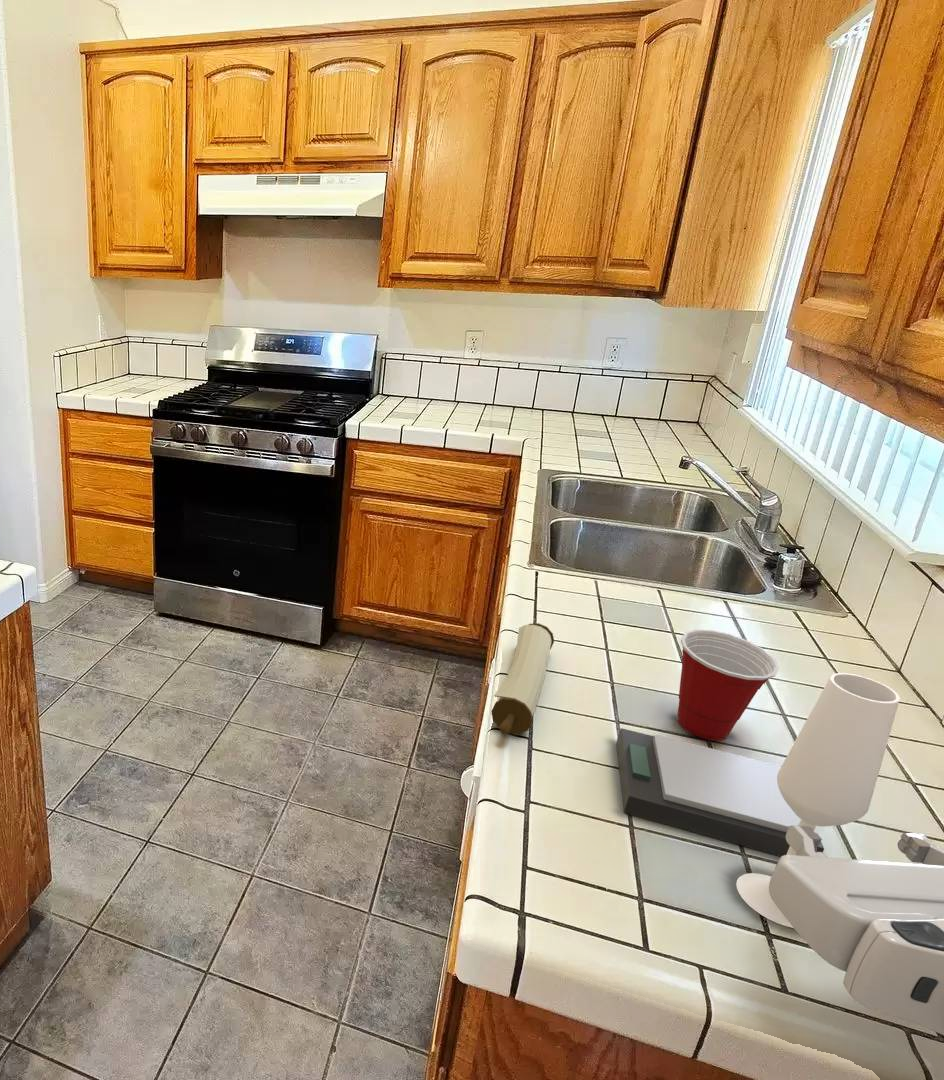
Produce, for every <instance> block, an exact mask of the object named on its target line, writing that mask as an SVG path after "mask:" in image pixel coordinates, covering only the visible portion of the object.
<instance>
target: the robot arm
mask: <svg viewBox="0 0 944 1080" xmlns="http://www.w3.org/2000/svg"><path fill="white" fill-rule="evenodd" d="M817 833H818V832H817ZM817 833H815V832H813V829H812V828H811V827H808V826H797V825H791V826H789V828H788V831H787V833H786V841H787V843H788V844H789V845H790V846H791V847H792V848H793V850H794V851H795V852H796V853H797V854H796V855H783V856H782V857H781V856H780V858H778V861H777V863H776V864H775V867H774V869H773V871H772V873H771V875H770V876H771V879H770V883H769V894H770V896H771V898H772V900H773V901H774V903H775V904H776V906H777V907H778V908H779V910H780V911H781V912H782V914H783V915H784V916H785V918H786V919H787V920H788V921H789V923H790V924H791V925H792V926H793V927H794V928H793V929H794V930H795V931H796V932H797V934H798V935H799V936H800V938H802V939H803V941H804V942H805V943H806V944H807V945H808V946H809V947H810V948H811V949H812V951H814V952H815V953H816V954H817V955H818V956H819V957H820V958H821V959H822V960H823V961H825V962H826V963H828V964H829V965H831V966H833V967H834V968H836V969H838V970H840V971H842V972H845V975H844V978H843V981H842V985H843V986H844V988H845V990H846V991H847V993H848V994H849V995H850V997H851V998H852V999H853V1000H854V1001H855V1002H856V1003H858V1004H859V1005H860V1006H863V1007H864V1008H866V1009H869V1010H872V1011H876V1012H879V1013H881V1014H885V1015H889V1016H891V1017H894V1018H898V1019H901V1020H904V1021H906V1022H910V1023H913V1024H915V1025H918V1026H920V1027H923V1028H925V1029H928V1030H930V1031H933V1032H935V1033H937V1034H940V1035H941V1036H944V848H942V847H939V846H937V845H936V844H935V842H933V841H932V840H931V839H929V837H927V835H925V834H923V833H908V832H903V833H902V834H901V835H900V839H898V841H897V848H898V850H899V851H900V852H901V853H902V854H904V855H905V857H906V858H907V859H908V861H910V862H911V863H908V862H894V861H881V860H865V859H853V858H837V857H828V856H827V855H826V854H825V853H824V852H823V853H822V852H817V846H819V845H820V842H822V840H823V839H822V837H821V836H820V835H819V833H818V834H817ZM816 852H817V853H816Z"/></svg>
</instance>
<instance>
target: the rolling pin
mask: <svg viewBox="0 0 944 1080" xmlns="http://www.w3.org/2000/svg"><path fill="white" fill-rule="evenodd" d="M554 637H555V636H554V633H553V631H552V630H551V629H550V628H549V627H548V626H546V625H544V624H542V623H539V622H538V623H529V624H525V625H522V626H520V627H518V633H517V640H516V646H515V652H514V655H513V661H512V663H511V666H510V668H509V670H508V673H507V676H506V678H505V679H504V681H503V683H502V684H501V685H500V687H499V688H498V689H497V691H496V692H495V693H494V695H493V697H494V698H498V700H497V701H495V703H494V705H493V706H492V709H491V718H492V721H493V722H494V724H495V725H496V727H497V728H498V729H499V732H500V733H501V734H503V735H506V734H509V735H521V734H523V733H525V732H528V731H529V730H530V727H532V723H533V722H534V719H533V716H534V713H535V711H536V709H537V704H538V702H539V699H540V696H541V692H542V688H543V685H544V681H545V676H546V672H547V667H548V663H549V659H550V653H551V649H552V648H553V645H554V643H555V638H554Z"/></svg>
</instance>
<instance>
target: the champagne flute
mask: <svg viewBox="0 0 944 1080" xmlns="http://www.w3.org/2000/svg"><path fill="white" fill-rule="evenodd" d="M900 700H901V697H900V695H899V694H898V692H896V691H895V690H894V689H893V688H891V687H889V686H888V685H886V684H884V683H882V682H879V681H877V680H875V679H872V678H869V677H867V676H863V675H859V674H854V673H848V672H836V673H833V674H831V675H830V676H829V678H828V680H827V682H826V683H825V685H824V688H823V689H822V691H821V693H820V694H819V696H818V698H817V700H816V702H815V703H814V706H813V708H812V709H811V711H810V713H809V715H808V717H807V718H806V720H805V722H804V724H803V726H802V728H801V729H800V730H799V733H798V735H797V737H796V739H795V741H794V742H793V744H792V746H791V748H790V750H789V751H788V753H787V755H786V757H785V759H784V760H783V762H782V764H781V765H782V766H781V768H780V770H779V772H778V774H777V783H778V787H779V790H780V792H781V794H782V796H783V798H784V800H785V801H786V803H787V804H788V805H789V807H790V808H791V809H792V810H793V812H794V813H795V814H796V815H797V816H798V817H799V818H800V819H801V820H800V823H799V825H798V826H808V827H811V828H812V829H813V832H814V830H815V828H816V827H820V828H821V827H823V828H824V827H835V826H836V827H837V826H845V825H847V824H852V823H854V822H856V821H859V820H860V819H862V818H863V817H865V816H866V815H867V813H868V812H869V810H870V806H871V801H872V798H873V795H874V792H875V788H876V784H877V781H878V777H879V774H880V770H881V767H882V763H883V760H884V757H885V754H886V749H887V745H888V742H889V739H890V735H891V732H892V728H893V725H894V721H895V717H896V714H897V711H898V707H899V703H900ZM816 829H817V828H816ZM796 854H797V853H796V852H795V851H794V850H793V848H792V847H791V846H790V847H789V850H788V852H787V855H796ZM771 876H772V875H767V874H764V873H763V874H762V873H756V872H750V873H744V874H742V875H740V876H739V877H738V878H737V880H736V883H735V886H736V890H737V892H738V894H739V896H740V897H741V899H742V900H743V901H744V902H745V903H746V904H747V906H749V907H750V908H751V909H752V910H754V911H755V912H756V913H758V914H759V915H761V916H762V917H764V918H766V919H768V920H769V921H772V922H774V923H775V924H777V925H781V926H784V927H786V928H787V927H788V928H791V929H794V927H793V926H792V925H791V924H790V923H789V921H788V920H787V919H786V918H785V916H784V915H783V914H782V912H781V911H780V910H779V908H778V907H777V906H776V904H775V903H774V901H773V900H772V898H771V896H770V894H769V883H770V879H771Z"/></svg>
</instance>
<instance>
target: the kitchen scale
mask: <svg viewBox="0 0 944 1080" xmlns="http://www.w3.org/2000/svg"><path fill="white" fill-rule="evenodd" d="M616 753H617V762H618V771H619V780H620V788H621V789H620V790H621V799H622V807H623V813H624V814H627V815H631V816H635V817H637V818H641V819H645V820H649V821H652V822H656V823H659V824H663V825H666V826H670V827H673V828H677V829H681V830H684V831H688V832H691V833H695V834H699V835H702V836H706V837H709V838H713V839H717V840H719V841H723V842H727V843H730V844H733V845H734V844H735V845H738V846H742V847H745V848H749V849H752V850H756V851H759V852H763V853H766V854H770V855H774V856H776V857H777V856H778V857H780V858H781V857H782V856H783V855H787V852H788V850H789V847H790V845H789V844H788V843H787V841H786V833H787V831H788V828H789V826H791V825H797V826H798V825H799V823H800V820H801V819H800V818H799V817H798V816H797V815H796V814H795V813H794V812H793V810H792V809H791V808H790V807H789V805H788V804H787V803H786V801H785V800H784V798H783V796H782V794H781V792H780V790H779V787H778V783H777V774H778V772H779V770H780V768H781V766H782V764H778V763H773V762H769V761H764V760H761V759H757V758H754V757H753V758H752V757H748V756H744V755H740V754H736V753H732V752H727V751H724V750H720V749H716V748H711V747H707V746H704V745H699V744H695V743H691V742H687V741H682V740H678V739H675V738H671V737H667V736H662V735H657V734H653V735H650V734H647V733H642V732H638V731H634V730H631V729H627V728H622V727H621V728H620V729H619V733H618V736H617V740H616ZM814 832H815V833H817V834H818V835H819V833H818V830H817V828H815V830H814ZM824 850H825V847H824V845H823V842H822V841H821V842H820V845H819V846H817V852H822V853H824ZM817 852H816V853H817Z"/></svg>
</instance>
